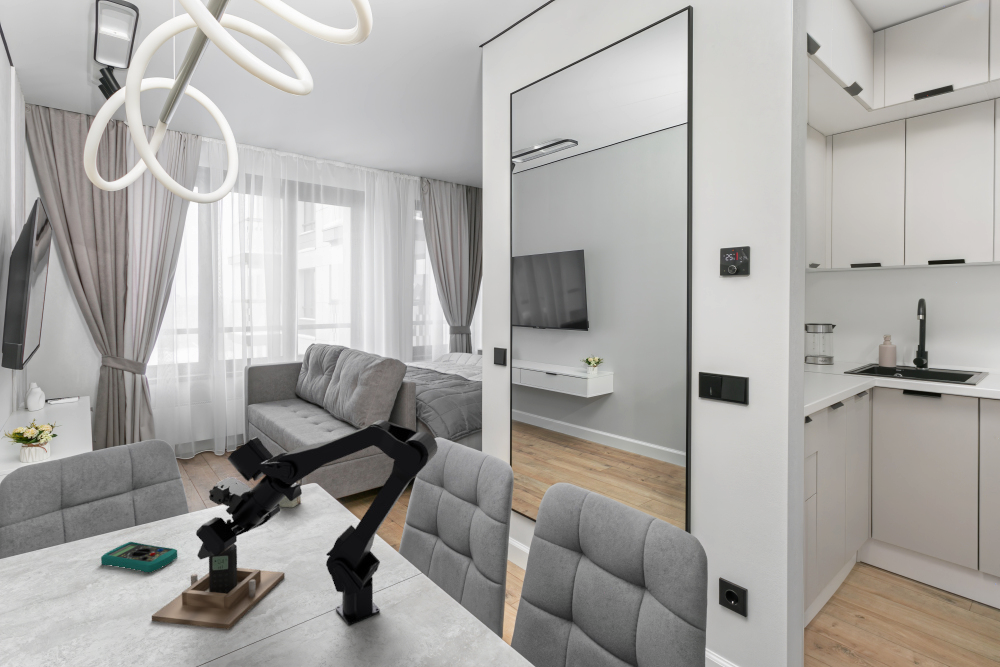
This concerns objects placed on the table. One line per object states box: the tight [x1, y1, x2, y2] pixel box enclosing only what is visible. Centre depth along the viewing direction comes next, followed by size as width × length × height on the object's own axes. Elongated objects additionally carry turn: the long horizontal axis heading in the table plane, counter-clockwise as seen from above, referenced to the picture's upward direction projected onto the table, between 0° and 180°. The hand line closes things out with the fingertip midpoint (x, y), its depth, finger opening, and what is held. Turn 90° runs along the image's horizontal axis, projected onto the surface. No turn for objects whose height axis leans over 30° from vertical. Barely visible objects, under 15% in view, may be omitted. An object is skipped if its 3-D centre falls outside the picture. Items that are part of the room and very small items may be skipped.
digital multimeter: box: [100, 541, 178, 573], centre depth 115 cm, size 7×15×3 cm, turn 76°
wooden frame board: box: [151, 567, 286, 631], centre depth 101 cm, size 16×18×4 cm
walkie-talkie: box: [208, 519, 238, 594], centre depth 101 cm, size 5×3×15 cm
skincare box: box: [279, 479, 302, 508], centre depth 149 cm, size 5×4×10 cm
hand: (216, 546), depth 101 cm, fingers open, 9 cm apart
